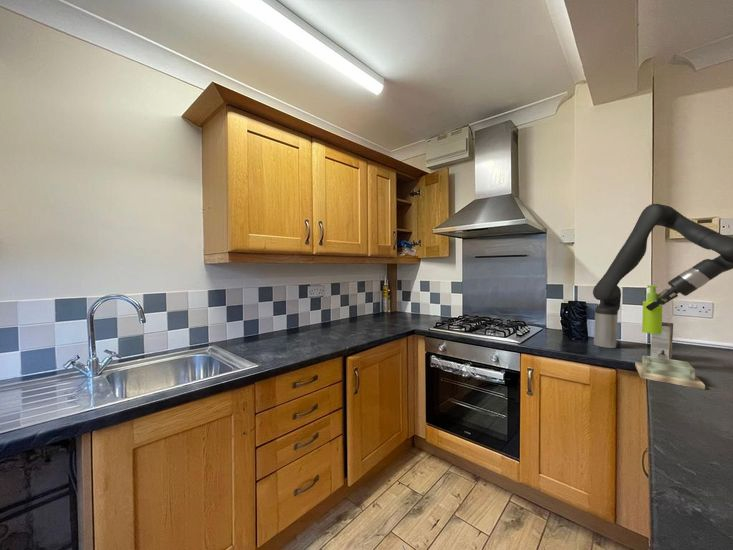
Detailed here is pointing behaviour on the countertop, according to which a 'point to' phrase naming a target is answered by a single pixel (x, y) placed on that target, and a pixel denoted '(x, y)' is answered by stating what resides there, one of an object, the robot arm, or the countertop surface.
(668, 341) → the coffee box
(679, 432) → the countertop surface
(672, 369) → the dispenser caddy
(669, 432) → the countertop surface
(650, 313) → the soap dispenser
